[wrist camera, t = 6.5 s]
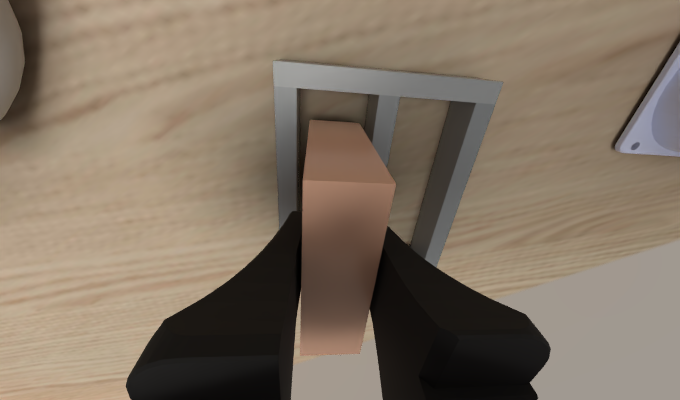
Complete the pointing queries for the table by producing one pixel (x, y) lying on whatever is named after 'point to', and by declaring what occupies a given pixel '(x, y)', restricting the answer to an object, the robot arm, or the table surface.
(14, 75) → the donut
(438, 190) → the dish rack
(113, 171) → the table surface
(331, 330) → the brick block
